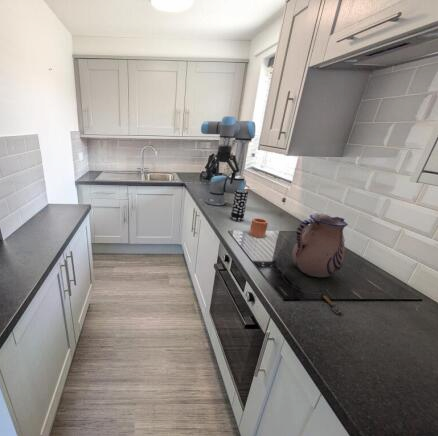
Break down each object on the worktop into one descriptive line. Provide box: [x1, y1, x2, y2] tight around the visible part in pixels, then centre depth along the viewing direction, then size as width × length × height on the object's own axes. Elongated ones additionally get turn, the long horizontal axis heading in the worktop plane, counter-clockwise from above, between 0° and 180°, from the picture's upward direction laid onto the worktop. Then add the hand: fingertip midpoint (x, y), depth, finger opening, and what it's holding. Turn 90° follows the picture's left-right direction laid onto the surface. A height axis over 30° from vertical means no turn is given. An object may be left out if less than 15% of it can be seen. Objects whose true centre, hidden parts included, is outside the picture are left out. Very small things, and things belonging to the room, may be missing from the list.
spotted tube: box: [229, 189, 249, 222], centre depth 156 cm, size 8×8×20 cm
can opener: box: [322, 294, 342, 315], centre depth 80 cm, size 9×2×1 cm, turn 170°
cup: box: [249, 217, 269, 239], centre depth 135 cm, size 8×8×9 cm
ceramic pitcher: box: [291, 212, 348, 278], centre depth 95 cm, size 18×21×25 cm
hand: (219, 182), depth 140 cm, fingers open, 13 cm apart
